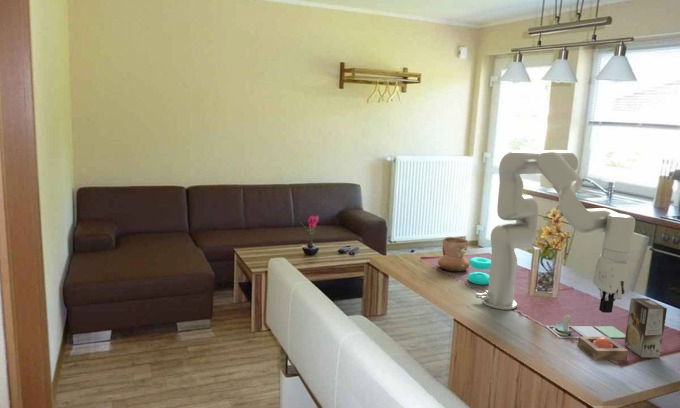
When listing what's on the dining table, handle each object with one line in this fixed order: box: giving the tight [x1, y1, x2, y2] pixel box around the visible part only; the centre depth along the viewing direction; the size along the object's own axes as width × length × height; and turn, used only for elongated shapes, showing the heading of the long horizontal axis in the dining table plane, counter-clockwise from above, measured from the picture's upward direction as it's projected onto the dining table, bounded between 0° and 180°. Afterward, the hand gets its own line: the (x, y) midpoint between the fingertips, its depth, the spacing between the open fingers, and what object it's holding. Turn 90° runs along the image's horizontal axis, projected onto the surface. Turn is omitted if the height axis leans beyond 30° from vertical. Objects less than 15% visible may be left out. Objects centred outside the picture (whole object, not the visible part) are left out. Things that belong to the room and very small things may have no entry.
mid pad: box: [572, 325, 607, 337], centre depth 176 cm, size 7×9×1 cm
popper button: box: [593, 337, 613, 348], centre depth 161 cm, size 6×6×4 cm
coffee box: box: [623, 297, 668, 358], centre depth 162 cm, size 9×6×16 cm
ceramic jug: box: [437, 236, 471, 272], centre depth 243 cm, size 18×14×14 cm
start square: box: [545, 325, 586, 340], centre depth 175 cm, size 10×10×1 cm
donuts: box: [467, 256, 491, 286], centre depth 225 cm, size 10×10×10 cm
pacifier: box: [551, 314, 576, 337], centre depth 175 cm, size 7×6×6 cm
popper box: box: [577, 336, 629, 361], centre depth 161 cm, size 10×10×3 cm
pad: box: [593, 325, 626, 339], centre depth 177 cm, size 7×9×1 cm
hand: (605, 311), depth 159 cm, fingers closed
